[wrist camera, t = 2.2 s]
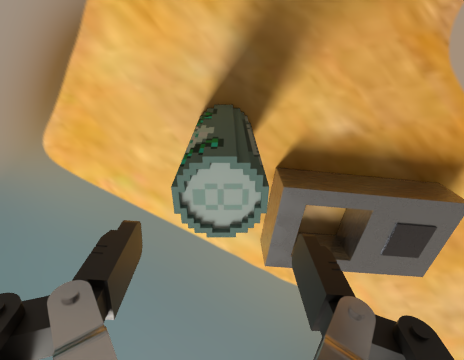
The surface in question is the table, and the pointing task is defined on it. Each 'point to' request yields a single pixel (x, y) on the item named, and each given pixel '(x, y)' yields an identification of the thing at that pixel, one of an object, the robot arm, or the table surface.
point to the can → (221, 176)
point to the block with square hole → (363, 220)
